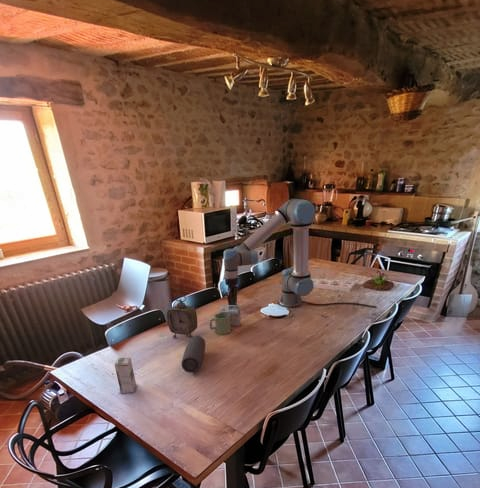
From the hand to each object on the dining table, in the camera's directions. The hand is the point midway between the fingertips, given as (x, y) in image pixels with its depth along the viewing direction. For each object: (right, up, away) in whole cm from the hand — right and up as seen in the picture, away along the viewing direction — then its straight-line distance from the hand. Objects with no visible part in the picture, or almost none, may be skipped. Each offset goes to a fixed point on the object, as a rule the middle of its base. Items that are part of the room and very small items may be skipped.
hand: (233, 315), depth 217 cm
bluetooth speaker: (-18, -29, -41) cm, 53 cm away
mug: (-7, -10, -10) cm, 16 cm away
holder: (+67, +31, +56) cm, 93 cm away
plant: (+105, +27, +46) cm, 118 cm away
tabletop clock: (-27, -14, -14) cm, 33 cm away
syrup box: (-45, -40, -59) cm, 84 cm away
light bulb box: (-1, -4, -2) cm, 5 cm away
